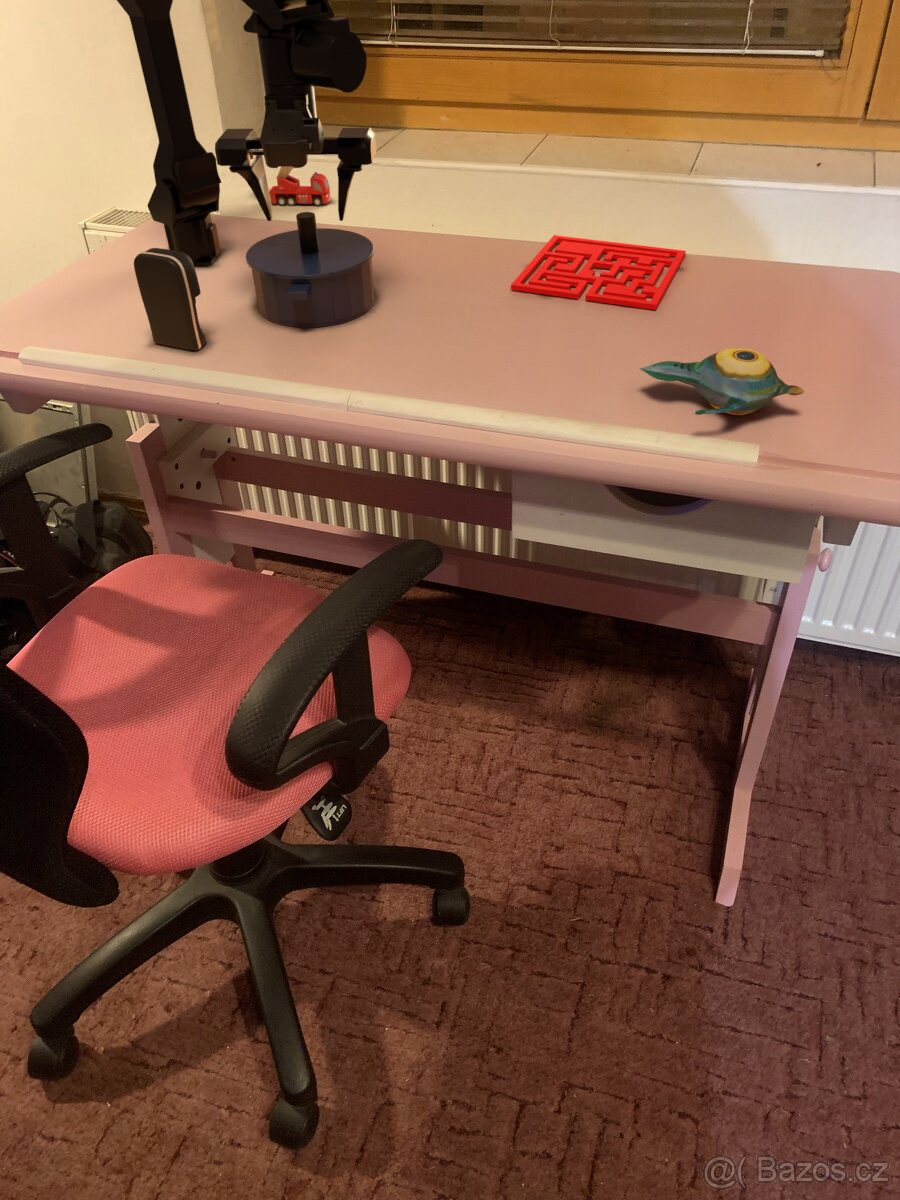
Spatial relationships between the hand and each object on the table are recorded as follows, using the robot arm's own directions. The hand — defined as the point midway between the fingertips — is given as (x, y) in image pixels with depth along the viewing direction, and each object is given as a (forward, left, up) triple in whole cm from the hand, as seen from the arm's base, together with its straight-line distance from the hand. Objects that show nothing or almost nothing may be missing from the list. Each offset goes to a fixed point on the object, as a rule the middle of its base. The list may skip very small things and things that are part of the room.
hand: (305, 219), depth 112 cm
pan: (0, 0, -11) cm, 11 cm away
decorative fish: (+49, -28, -11) cm, 57 cm away
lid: (0, 0, -4) cm, 4 cm away
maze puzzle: (+39, +10, -11) cm, 42 cm away
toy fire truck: (-11, +41, -11) cm, 44 cm away
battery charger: (-15, -12, -11) cm, 22 cm away
